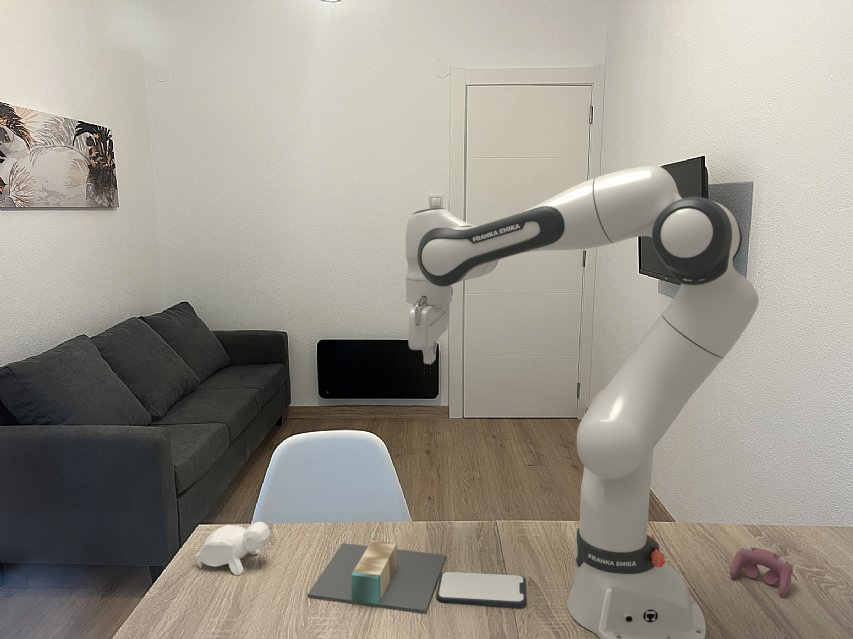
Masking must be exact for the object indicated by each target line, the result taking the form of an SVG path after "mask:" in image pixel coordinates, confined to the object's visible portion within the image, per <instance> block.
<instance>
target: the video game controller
mask: <svg viewBox="0 0 853 639" xmlns="http://www.w3.org/2000/svg"><path fill="white" fill-rule="evenodd" d="M758 566H762V567H764V568H766V569H767V568H768V569H769V570H767V571H765V573H764V574H763V580H764V581H765V583H767V584H768V585H771V586H775V585H777V584H778V583H779V584H778V593H779V596H780V597H781V598H784V597H786V595H787V593H788V591H789V588H790V585H791V582H792V575H793V571H794V569H793V566H792V565H791V564H790V562H788V561H787V560H785V559H784V558H782V557H781V556H780V555H778V554H776V553H774V552H772V551H770V550H767V549H763V548H759V547H751V546H745V547H743V548H740V549H739V550H737V551H736V553H735V555H734V557H733V559H732V563H731V567H730V569H729V578H730V579H731V580H735V579H736V578H737V577H738V576H739V575H740V573H741V571H742V570H743V569H744V572H745V574H746V576H747V577H749V578H751V579H757V578H759V576H760V569H759V567H758Z"/></svg>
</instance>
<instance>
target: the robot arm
mask: <svg viewBox="0 0 853 639" xmlns="http://www.w3.org/2000/svg"><path fill="white" fill-rule="evenodd" d="M742 235H743V234H742V230H741V227H740V224H739V223H738V221H737V219H736V217H735V216H734V215H733V213H732V212H731V211H730V210H729V209H728V208H727V207H725V205H722V204H721V203H719V202H716V201H715V200H712V199H709V198H706V197H700V196H689V197H684V198H683V197H681V195H680V194H679V190H678V187H677V184H676V182H675V180H674V178H673V177H672V175H671V174H670V173H669V172H668V171H667V170H666V169H664V167H662V166H659V165H654V164H653V165H652V164H651V165H650V164H649V165H644V166H637V167H631V168H626V169H621V170H617V171H614V172H609V173H606V174H603V175H600V176H597V177H594V178H591V179H589V180H585V181H583V182H580V183H578V184H576V185H574V186H572V187H569V188H568V189H565V190H563V191H561V192H559V193H558V194H555V195H554V196H552V197H550V198H548V199H546V200H544V201H542V202H540V203H537V204H535V205H534V206H532V207H530V208H527V209H526V210H523V211H521V212H519V213H517V214H512V215H509V216H507V217H504V218H501V219H498V220H494V221H491V222H487V223H484V224H482V225H478V226H477V225H475V224H471V223H469V222H467V221H464V220H462V219H460V218H459V217H456V216H455V215H453V214H452V213H451V212H450V210H448V209H447V208H444V207H433V208H426V209H425V208H424V209H422V210H418V211H415V212H413V213H412V214H410V216H409V217H408V220H407V223H406V231H405V258H406V262H407V272H406V277H405V278H406V279H405V280H406V281H405V285H406V286H405V287H406V289H405V291H406V293H405V294H406V303H407V304H411V305H412V308H411V309H410V311H409V314H408V334H407V335H408V336H407V337H408V342H407V343H408V347H409V349H410V350H413V351H422V355H423V363H424V364H426V365H432V364H433V363H434V362H435V361H436V357H437V355H436V353H437V346H438V339H440V337H441V336H443V335H444V334H445V332H446V331H447V330H448V327H449V321H450V307H451V305H450V304H451V302H453V293H454V292H453V290H454V289H453V286H452V285H454V284H456V283H459V282H464V281H468V280H471V279H476V278H481V277H482V276H486V275H488V274H489V273H491V272H492V271H494V269H495V268H496V266H497V265H498V262H499V260H502V259H505V258H509V257H513V256H516V255H519V254H525V253H530V252H538V251H539V252H540V251H572V250H573V251H574V250H575V251H576V250H585V249H586V250H587V249H592V248H599V247H604V246H607V245H612V244H615V243H619V242H622V241H626V240H629V239H633V238H638V237H639V238H640V237H649V238H651V240H652V246H653V249H654V251H655V254H657V256H658V258H659V259H660V261H661V262H662V264H664V266H665V267H666V268H667V269H668V270H669V272H670V273H671V274H672V276H673V277H674V278H675V280H676V281H677V282H678V283H680V286H679V289H678V292H677V293H676V295H675V296H674V297H673V299H672V300H671V302H670V303H669V304H668V306H667V307H666V308H665V310H664V311H663V312H662V313H661V315H660V316H659V317H658V318H657V319H656V321H655V322H654V324H653V325H652V326H651V327H650V329H649V330H648V331H647V332H646V334H645V335H644V336H643V337H642V338H641V340H640V341H639V343H638V344H637V345H636V346H635V348H634V349H633V351H632V352H631V353H630V354H629V356H628V357H626V358H627V359H626V360H625V361H624V363H622V365H621V366H620V368H619V370H618V371H617V372H616V374H615V375H614V376H613V378H612V379H611V381H610V382H609V383H608V384H607V386H605V388H603V389H601V390H600V391H599V392H598V393H597V394H596V395H595V396H594V398H593V400H592V401H591V403H590V405H589V406H588V408H587V410H586V412H585V414H584V415H583V417H582V419H581V421H580V422H579V424H578V426H577V431H576V450H577V454H578V458H579V460H580V461H581V463H582V464H583V466H584V467H583V473H582V479H581V480H582V481H581V485H580V505H579V506H580V508H579V527H577V530H576V536H575V547H574V548H575V550H574V551H575V552H574V553H575V554H574V558H575V564H576V569H575V574H574V578H573V581H572V582H573V583H572V587H571V589H570V593H569V595H568V598H567V601H566V604H567V605H566V607H567V611H568V612H569V614H570V616H571V617H572V618H573V619H574V620H575V621H576V622H577V623H578V624H579V625H581V626H582V627H584V628H585V629H587V630H589V631H591V632H592V633H594V634H595V635H597V636H598V637H599V639H706V638H707V637H706V636H707V627H706V626H707V625H706V620H705V616H704V614H703V611H702V609H701V607H700V606H699V604H698V603H697V601H696V600H695V599H694V598H693V597H692V596H691V593H690V590H689V587H688V585H687V584H686V581H685V579H684V578H683V576H682V575H681V573H679V572H678V571H677V570H676V569H674V568H673V567H671V566H670V565H669V564H668V563H666V560H665V558H664V556H665V555H664V553H663V552H662V551H661V550H660V546H659V545H660V544H659V543H658V542H657V540H656V538H655V536H654V534H653V533H651V536H649V535H648V527H649V526H648V525H649V523H648V522H649V507H650V491H651V482H652V473H653V472H652V471H653V458H654V449H655V447H656V446H657V444H658V443H659V442H660V440H661V439H662V437H663V436H664V435H665V434H666V433H667V431H668V430H669V428H670V427H671V426H672V424H673V423H674V422H675V420H676V419H677V417H678V416H679V414H680V413H681V412H682V410H683V408H684V407H685V406H686V404H687V403H688V402H689V400H690V399H691V397H692V396H693V395H694V394H695V393H696V391H697V390H698V389H699V388H700V387H701V385H702V384H704V382H705V381H706V380H707V379H708V377H709V376H710V375H711V374H712V373H713V371H714V370H715V369H716V368H717V367H718V366H719V364H720V363H721V362H722V361H723V360H724V359H725V357H726V356H727V354H729V353H730V351H731V350H732V349H733V347H735V345H736V344H737V342H738V341H739V339H741V337H742V335H743V333H744V332H745V331H746V329H747V327H748V325H749V323H750V322H751V320H752V319H753V316H754V315H755V313H756V311H757V309H758V307H759V294H758V292H757V289H756V288H755V287H754V285H753V284H752V283H751V281H750V280H749V279H747V278H746V277H745V276H744V275H742V274H741V273H739V272H738V271H737V270H736V268H735V267H734V260H735V259H736V257H737V255H738V254H739V252H740V250H741V246H742V241H743V236H742Z"/></svg>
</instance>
